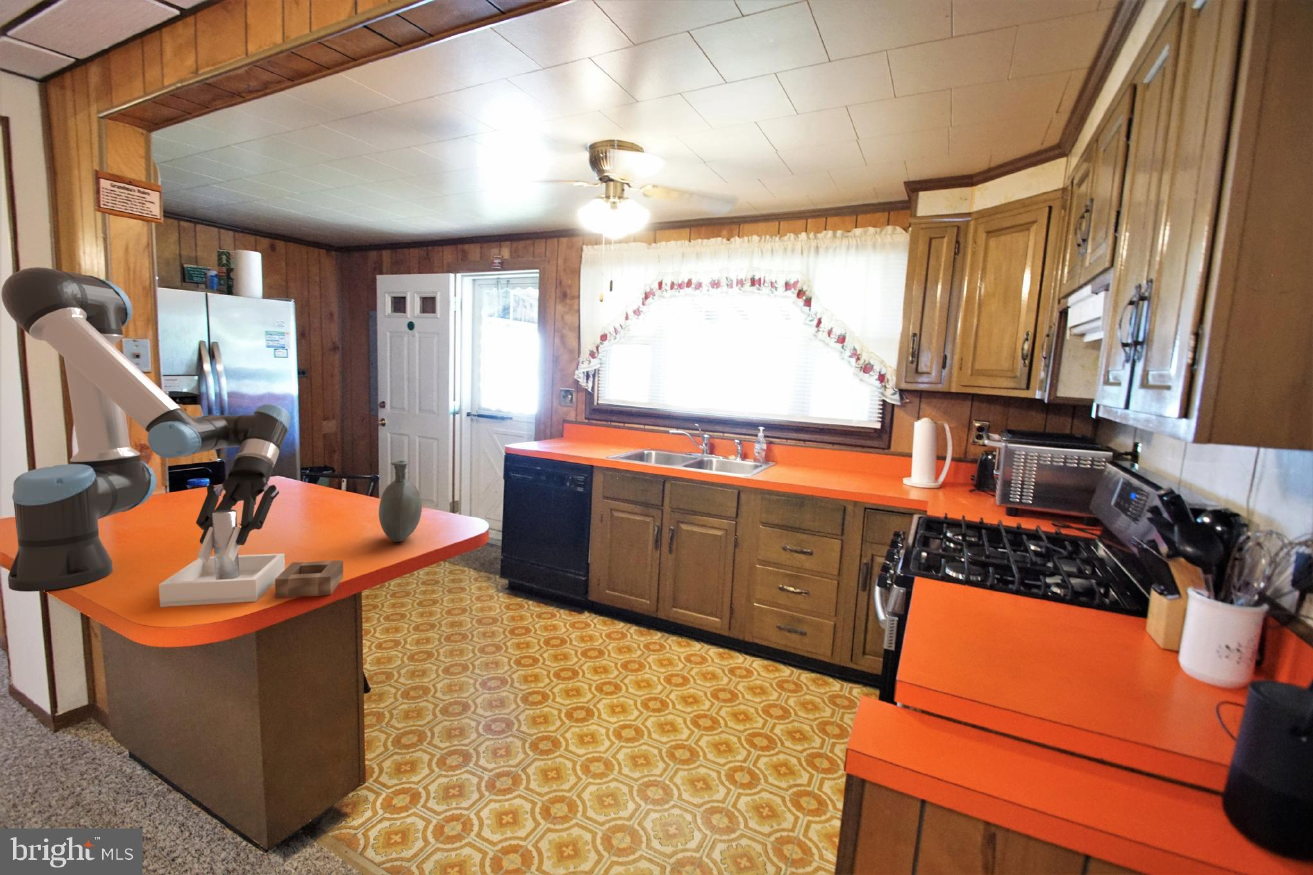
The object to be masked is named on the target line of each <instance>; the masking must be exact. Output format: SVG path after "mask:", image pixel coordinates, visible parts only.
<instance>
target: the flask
mask: <svg viewBox="0 0 1313 875" xmlns="http://www.w3.org/2000/svg"><path fill="white" fill-rule="evenodd" d="M390 465H391V466H393V469H394V473H395V474H394V475H395V478H394V480H393V481H391V482H390V483H389V484H388V485H387V486H386V487H385V489H384V490H383V492H382V494H381V497H380V501H379V505H378V506H379V507H378V518H379V520H378V521H379V523H380V527H381V529H382V531H383V533H384V535H385V536H386V537H387V538H389V539H390V541H391V542H392V541H393V542H395V543H400V542H403V541H405V540H406V539H408V538H409V537H410V536H411V535H412V534H413V533H414V532H415V530H416V529H417V527H418V525H419V524H420V520H421V517H422V511H423V509H422V508H423V503H422V497H421V493H420V491H419V489H418V488H417V485H415V484H414V482H412V481H410V480H409V479H408V478H406V469H407V466H408V465H410V461H407V460H395V461H393V462H391V463H390Z"/></svg>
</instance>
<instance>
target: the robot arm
mask: <svg viewBox="0 0 1313 875" xmlns="http://www.w3.org/2000/svg"><path fill="white" fill-rule="evenodd" d="M1 302H2V304H3V306H4V308H5V309H6V312H7V313H8V315H9V316H10V318H11V319H12V320H14V322H15V323H16V324H17V325H18V326H19V327H20V328H21V329H22V330H24V331H25V333H27V334H28V335H29V336H30V337H32V339H33V340H38V341H45V342H46V343H47V344H48V345H49V346H50V347H52V349H54V350H55V351H56V352H57V353H58V354H59V355H60V356H62V357H63V360H64V367H65V372H66V373H65V374H66V380H67V386H68V393H69V398H70V399H69V400H70V404H71V411H72V412H71V413H72V418H73V425H74V432H75V436H76V444H77V449H78V450H77V452H76V453H75V455H73V456H71V458H70V459H69V461H70V464H69V463H67V464H57V465H53V466H45V467H40V468H36V469H32V470H29V471H26V472H23V473H21V474H19V475H18V476H17V477H16V478H15V479H14V481H13V492H12V496H11V498H12V501H13V507H14V508H13V509H14V516H15V519H14V520H15V527H16V528H15V529H16V534H17V545H18V546H17V548H18V549H17V552H16V554H15V556H14V560H13V562H12V564H11V568H10V569H9V572H8V575H7V583H8V589H9V590H11V591H15V592H27V593H29V592H31V593H32V592H45V591H54V590H59V589H60V590H61V589H66V588H67V589H68V588H72V587H77V586H81V585H85V584H87V583H91V582H95V581H98V580H100V579H103V578H105V577H107V576H109V575H110V574H111V573H112V572H113V560H112V558H111V557H110V554H109V553H108V551H107V549H106V548H105V545H104V544H103V542H102V541H101V538H100V533H99V520H100V519H104V518H106V517H110V516H113V515H117V514H119V513H125V512H128V511H130V510H133V509H135V508H136V507H138V506H141V505H143V504H144V503H146V502H147V501H148V500H149V499H150V498H151V497H152V496H153V494H154V493H155V490H156V487H157V477H156V473H155V471H154V470H153V468H152V467H150V466H148V464H147V463H146V462H144V461H142V457H141V452H139V451H138V450H136V449H135V448H133V447H132V446H131V444H130V442H131V441H130V436H129V430H128V422H127V415H128V416H129V417H130V418H132V420H133V421H134V422H136V423H137V424H138V425H139V426H140V427H141V428H142V429H143V430H144V431H145V432H147V438H146V439H147V443H148V446H149V449H150V450H151V451H152V452H153V453H154V454H155V455H157V456H159V457H162V458H164V459H165V458H167V459H175V458H186V457H190V456H193V455H195V454H200V453H204V452H210V451H213V450H219V449H223V448H239V449H238V451H237V452H236V455H235V457H234V458H235V459H234V460H233V462H232V464H231V466H230V469H229V471H228V476H227V478H226V480H224V481H223V482H222V484H218V485H217V484H216V485H214V484H208V485H207V486H206V493H207V494H206V496H205V499H204V502H203V504H202V506H201V509H200V511H199V514H198V516H197V519H196V521H195V524H196V525H197V527H199V528H200V530H202V531H203V532H202V534H201V536H200V538H199V543H200V544H201V546H200V549H199V552H198V553H197V558H200V559H201V560H202V561H203V562H208V560H209V558H210V556H211V554H212V552H213V551H214V541H213V521H212V513H213V512H215V511H219V510H232V509H233V507H235V506H236V505H237V504H238V502H241V501H243V504H242V512H241V520H240V522H239V523H238V524H239V526H237V527H235V529H234V532H233V534H232V537H231V540H230V542H229V545H228V547H227V550H226V552H225V555H224V556H225V557H226V558H227V559H228V560H229V561H230V562H234V560H235V557H236V555H237V552H238V553H239V549H240V547H241V546H244V545H245V544H246V542H247V540H248V537H249V535H250V532H251V531H253V530H257V531H258V530H261V529H262V528H263V526H264V524H265V521H266V518H267V516H268V514H269V512H270V508H271V506H272V504H273V502H274V500H275V499H276V498H277V496H278V495H279V494H280V491H279V489H278V488H277V486H276V485H275V484H272V485H269V484H268V482H269V481H270V479H271V477H272V473H273V471H274V467H275V465H276V462H277V460H278V457H279V455H280V454H279V453H280V451H281V448H282V446H283V443H284V440H285V438H286V436H287V434H288V433H289V428H290V424H291V420H292V416H291V414H290V413H289V412H288V411H287V410H286V409H285V408H284V407H282V406H280V405H276V404H272V403H271V404H270V403H268V404H267V403H266V404H262V405H260V406H258V407H257V408H256V409H255V410H254V412H253V414H239V415H236V414H235V415H233V414H231V415H229V414H228V415H225V414H224V415H222V414H221V415H217V414H216V415H214V414H208V415H206V414H204V415H196V416H194V417H192V416H191V415H189V414H188V413H187V412H186V411H185V410H184V409H183V408H181V406H179V405H178V404H177V403H176V402H175V401H174V400H173V399H172V398H171V397H170V396H169V395H167V394H166V393H165V392H164V391H163V390H162V389H161V388H160V387H159V386H158V385H157V384H156V383H155V382H154V381H152V380H151V379H150V378H149V377H148V376H147V375H146V374H145V373H144V372H143V371H142V370H140V369H139V367H137V366H136V365H135V364H134V363H133V362H132V361H131V360H130V359H128V357H126V356H125V355H124V354H123V353H122V352H121V351H120V350H119V349H118V348H117V343H118V342H119V341H121V339H123V338H124V333H123V332H124V331H123V327H125V326H127V324H128V322H129V321H131V319H132V316H133V307H132V306H133V305H132V302H131V299H130V298H129V297H128V295H127V294H126V292H124V290H123V289H122V288H121V287H119V286H118V285H117V284H116V283H113V282H111V281H109V280H106V279H102V278H99V277H98V276H93V275H89V274H88V275H87V274H83V273H75V272H70V271H63V270H57V269H55V268H49V267H28V268H23V269H21V270H18V271H16V272H13V274H11V275H10V276H8V277H7V279H6V280H5V281H4V283H3V284H2V287H1ZM223 491H225V492H224V494H223V495H222V493H223ZM262 493H263V494H262ZM261 494H262V496H261V497H260V498H261V499H260V501H259V503H258V505H257V507H256V510H255V505H256V504H257V497H258V496H260V495H261ZM221 496H222V499H221V501H219V499H220V497H221ZM218 502H219V504H218ZM254 512H255V513H254Z"/></svg>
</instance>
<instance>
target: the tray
mask: <svg viewBox="0 0 1313 875" xmlns="http://www.w3.org/2000/svg"><path fill="white" fill-rule="evenodd" d="M285 569H286V560H285V553H267V554H266V553H265V554H264V553H263V554H241V555H240V554H239V577H237V578H235V579H223V580H216V579H215V561H214V555H213V556H211V555H210V558H209V560H208V562H203V561H202V560H201V559H200V558H199V557H197V559H196V560H194V561H192V562H191V563H189V564H188V565H186V566H184V567H183V568H182V569H180V570H178V571H177V572H176V573H173V574H172V575H171V576H169V577H168V578H165V580H163V581H162V582H160V583H159V584H158V592H159V596H158V597H159V607H160V608H166V607H167V608H168V607H182V606H197V605H198V606H199V605H201V606H202V605H212V604H213V605H214V604H232V603H248V602H257V601H258V600H260V598H262V596H263V595H264V594H265V593H266V592H267V591H268V590H269V589H270V588H271V587H272V586H274V585H275V579H276V578H277V577H278V576H279V575H280V574H281V573H282V572H283V571H284V570H285Z"/></svg>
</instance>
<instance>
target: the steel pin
mask: <svg viewBox="0 0 1313 875" xmlns="http://www.w3.org/2000/svg"><path fill="white" fill-rule="evenodd" d="M237 513H238V511H237V510H236V509H231V510H219V511H215V512H213V513H212V521H213V541H214V548H213V556H214V561H215V579H216V580H223V579H235V578H237V577H239V555H240V554H239V551H238V552H237V555H236V557H235V560H234V562H230V561H229V560H228V559H227V558H226V557H225V556H224V555H225V552H226V550H227V547H228V545H229V542H230V540H231V537H232V534H233V532H234V529H235V527H238V516H237V515H238V514H237Z"/></svg>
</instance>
